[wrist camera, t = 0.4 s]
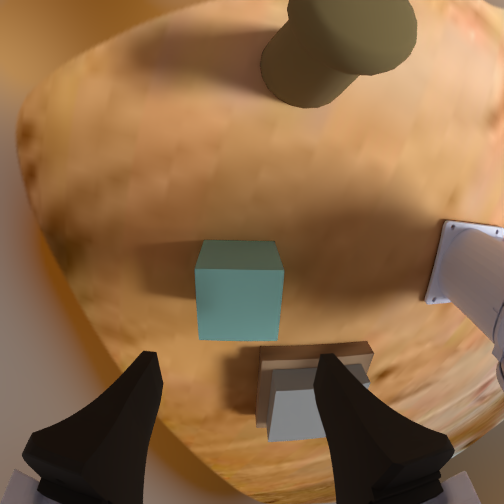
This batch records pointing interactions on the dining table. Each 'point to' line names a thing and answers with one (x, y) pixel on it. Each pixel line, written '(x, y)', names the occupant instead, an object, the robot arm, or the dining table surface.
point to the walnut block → (302, 365)
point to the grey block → (298, 404)
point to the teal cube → (238, 290)
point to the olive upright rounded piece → (335, 47)
